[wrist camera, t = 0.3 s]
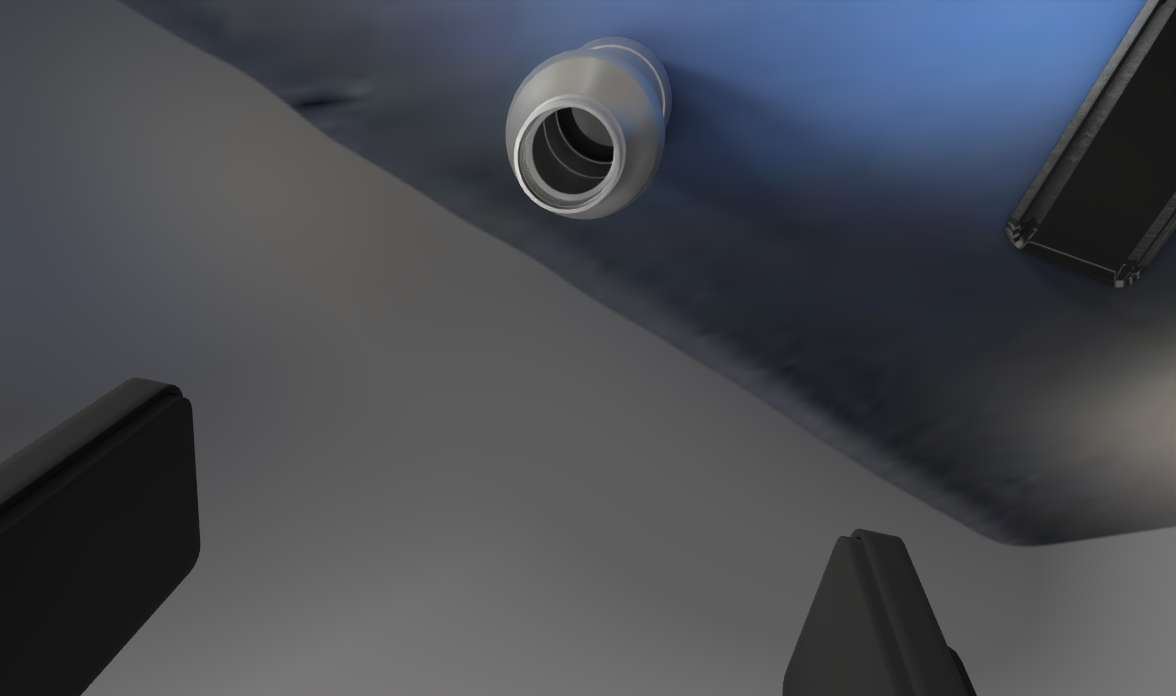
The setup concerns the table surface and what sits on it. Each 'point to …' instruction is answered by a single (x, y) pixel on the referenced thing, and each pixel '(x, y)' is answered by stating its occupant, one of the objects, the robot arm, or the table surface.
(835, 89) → the table surface
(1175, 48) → the phone
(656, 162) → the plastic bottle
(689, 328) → the table surface
